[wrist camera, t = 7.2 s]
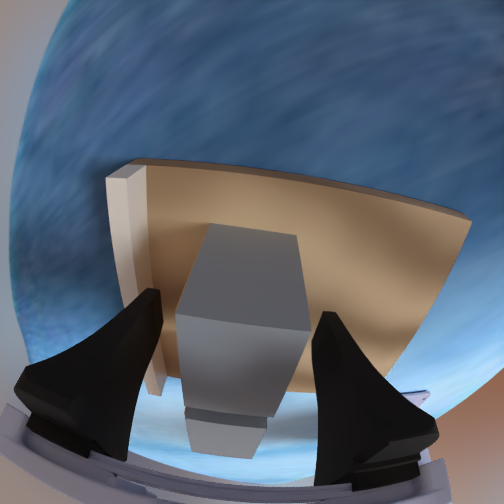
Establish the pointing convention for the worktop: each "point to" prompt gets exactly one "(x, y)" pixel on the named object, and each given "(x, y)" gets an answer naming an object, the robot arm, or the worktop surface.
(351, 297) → the shelf board
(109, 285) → the worktop surface
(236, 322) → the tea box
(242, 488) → the robot arm
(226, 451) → the faced box
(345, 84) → the worktop surface
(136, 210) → the rail
